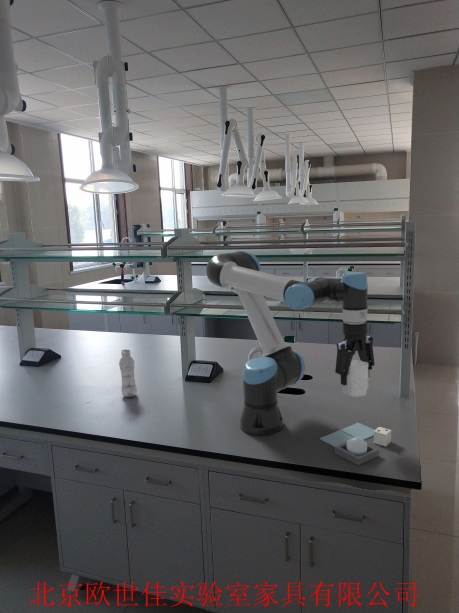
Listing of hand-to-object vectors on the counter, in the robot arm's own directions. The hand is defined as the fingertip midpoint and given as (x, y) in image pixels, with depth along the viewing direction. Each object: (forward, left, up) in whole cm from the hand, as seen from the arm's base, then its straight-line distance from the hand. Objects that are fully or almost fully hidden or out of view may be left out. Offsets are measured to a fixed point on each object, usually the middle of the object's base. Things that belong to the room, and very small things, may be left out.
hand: (355, 390), depth 143 cm
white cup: (0, 0, -1) cm, 1 cm away
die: (+8, +3, -16) cm, 18 cm away
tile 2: (-1, +3, -16) cm, 16 cm away
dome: (+8, -9, -15) cm, 19 cm away
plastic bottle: (-81, -47, -16) cm, 95 cm away
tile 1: (-1, -6, -16) cm, 17 cm away
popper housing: (+8, -9, -16) cm, 20 cm away
